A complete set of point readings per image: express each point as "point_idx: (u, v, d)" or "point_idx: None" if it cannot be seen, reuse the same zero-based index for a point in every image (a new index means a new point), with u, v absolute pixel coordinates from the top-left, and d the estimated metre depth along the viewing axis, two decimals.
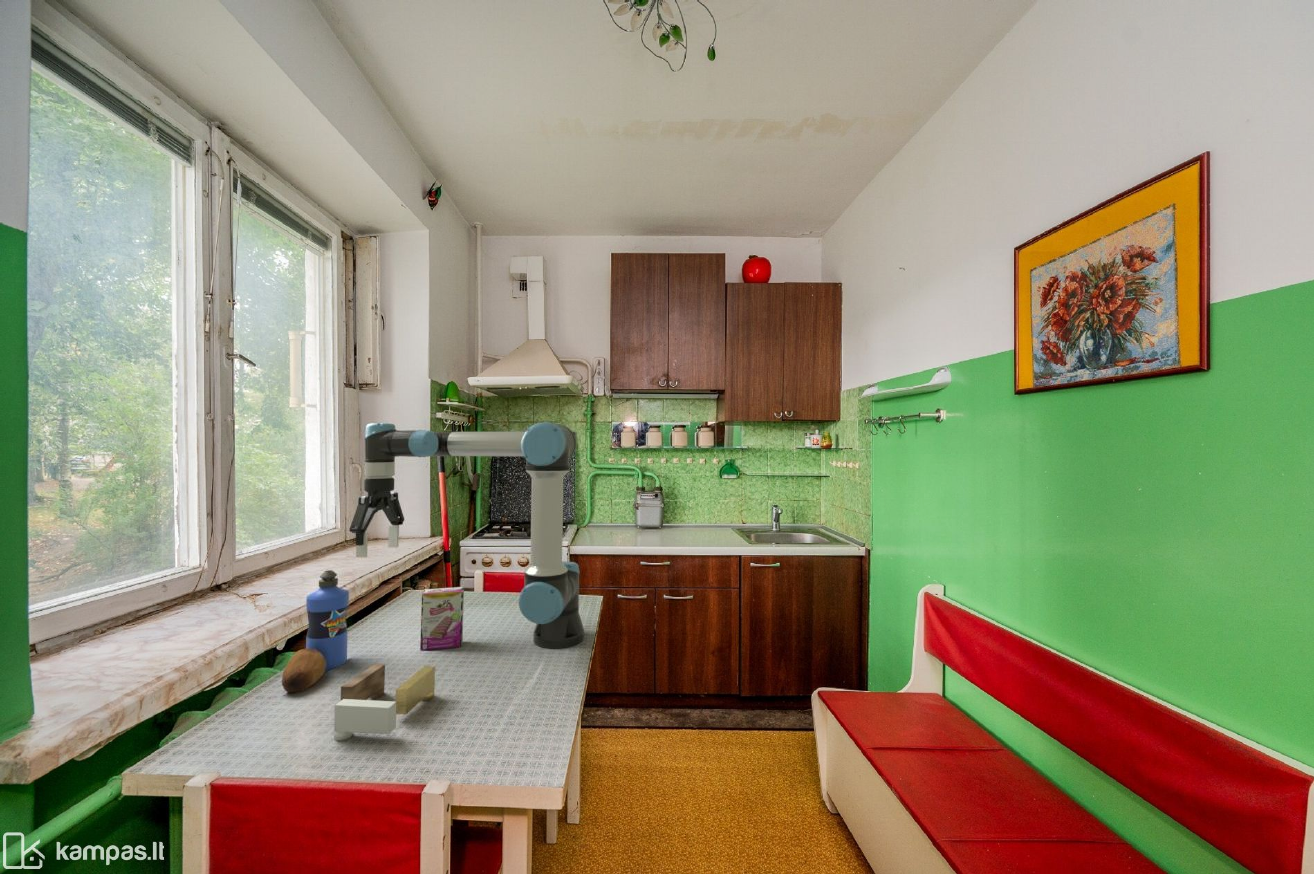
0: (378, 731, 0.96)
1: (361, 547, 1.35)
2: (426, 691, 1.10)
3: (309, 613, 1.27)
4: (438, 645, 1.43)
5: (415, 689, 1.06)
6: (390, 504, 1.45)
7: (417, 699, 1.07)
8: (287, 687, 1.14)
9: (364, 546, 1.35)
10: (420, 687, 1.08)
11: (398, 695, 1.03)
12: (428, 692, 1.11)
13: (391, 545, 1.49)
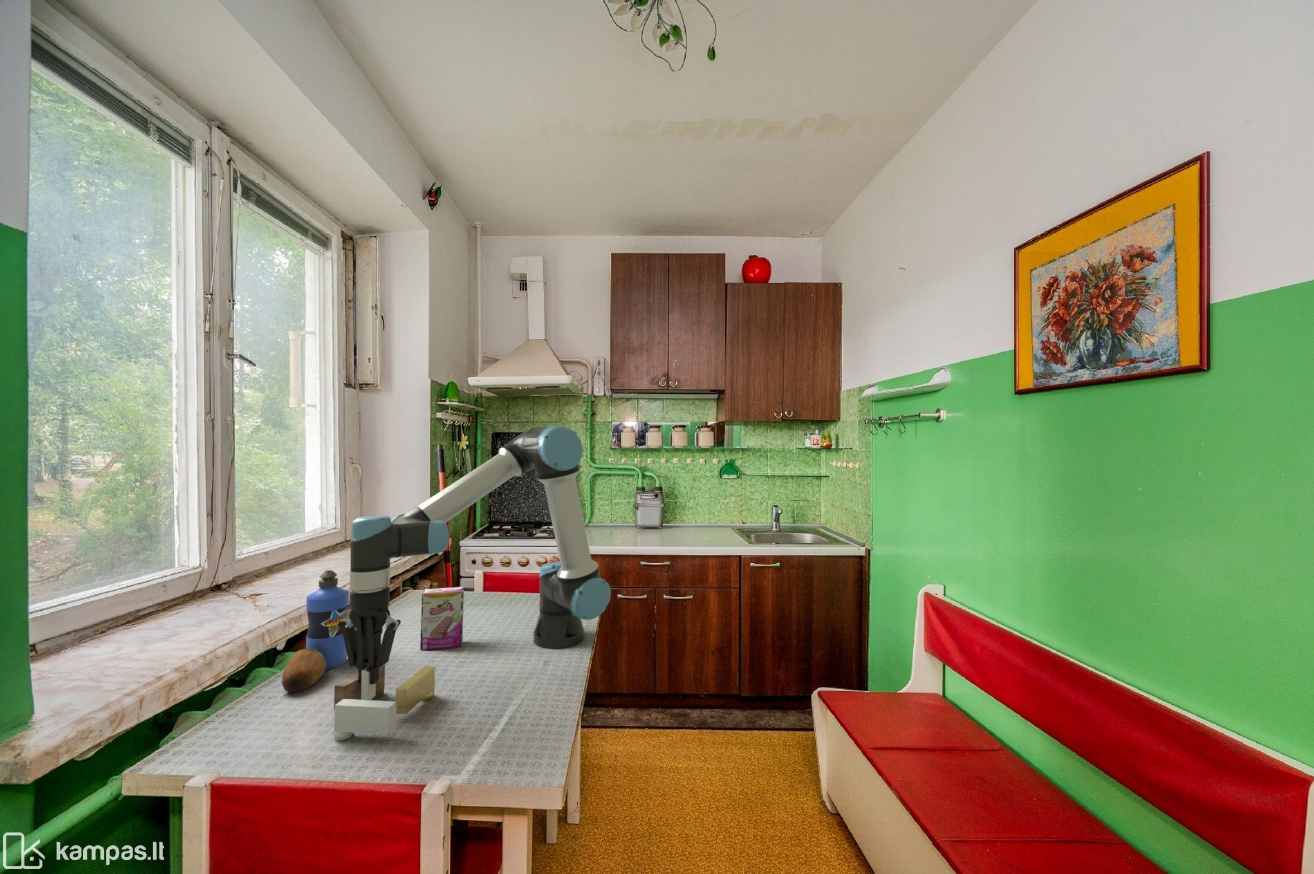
0: (378, 731, 0.96)
1: None
2: (426, 691, 1.10)
3: (309, 613, 1.27)
4: (438, 645, 1.43)
5: (415, 689, 1.06)
6: (369, 630, 1.06)
7: (417, 699, 1.07)
8: (287, 687, 1.14)
9: None
10: (420, 687, 1.08)
11: (398, 695, 1.03)
12: (428, 692, 1.11)
13: None
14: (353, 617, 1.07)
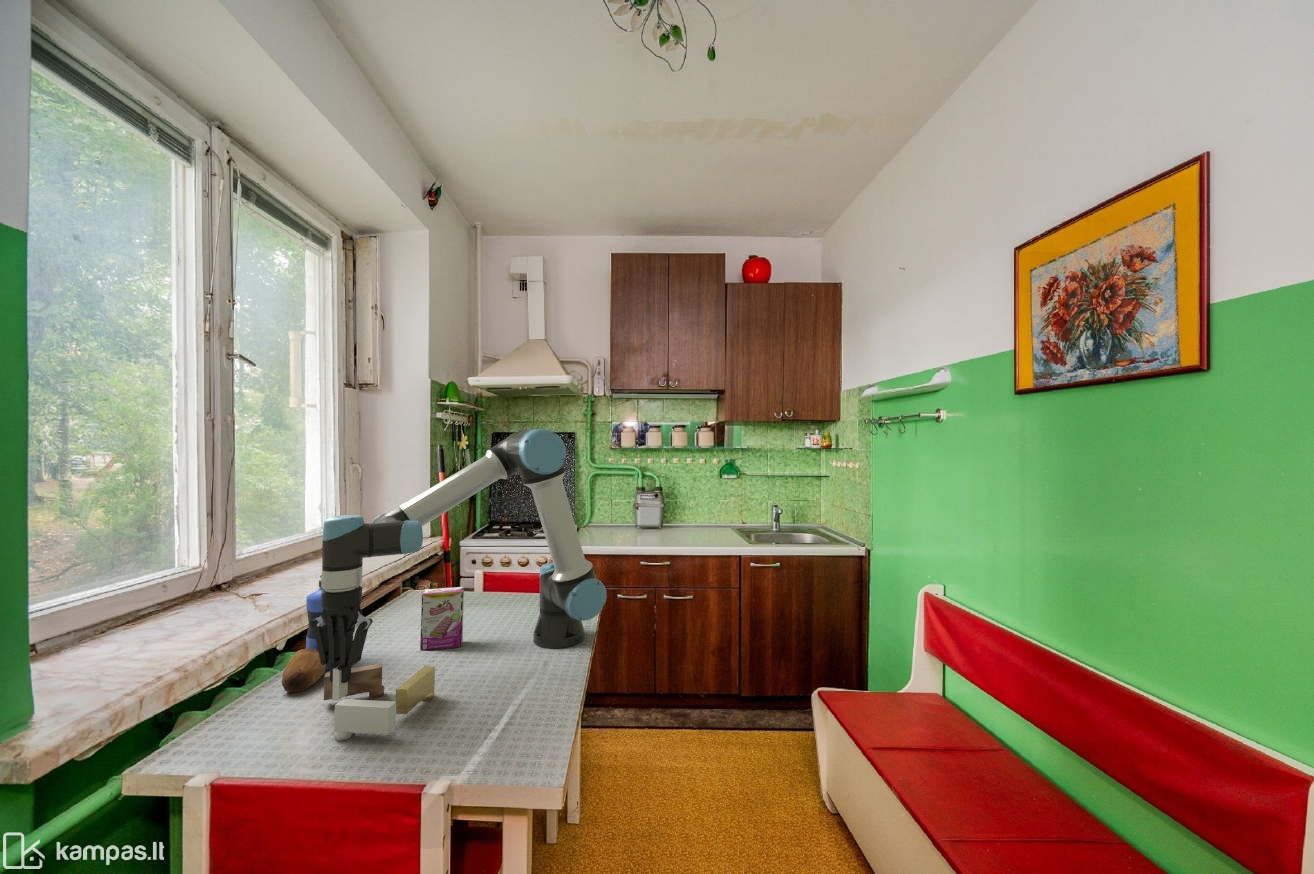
0: (378, 731, 0.96)
1: None
2: (426, 691, 1.10)
3: (309, 613, 1.27)
4: (438, 645, 1.43)
5: (415, 689, 1.06)
6: (341, 629, 1.07)
7: (417, 699, 1.07)
8: (287, 687, 1.14)
9: None
10: (420, 687, 1.08)
11: (398, 695, 1.03)
12: (428, 692, 1.11)
13: None
14: (325, 616, 1.08)
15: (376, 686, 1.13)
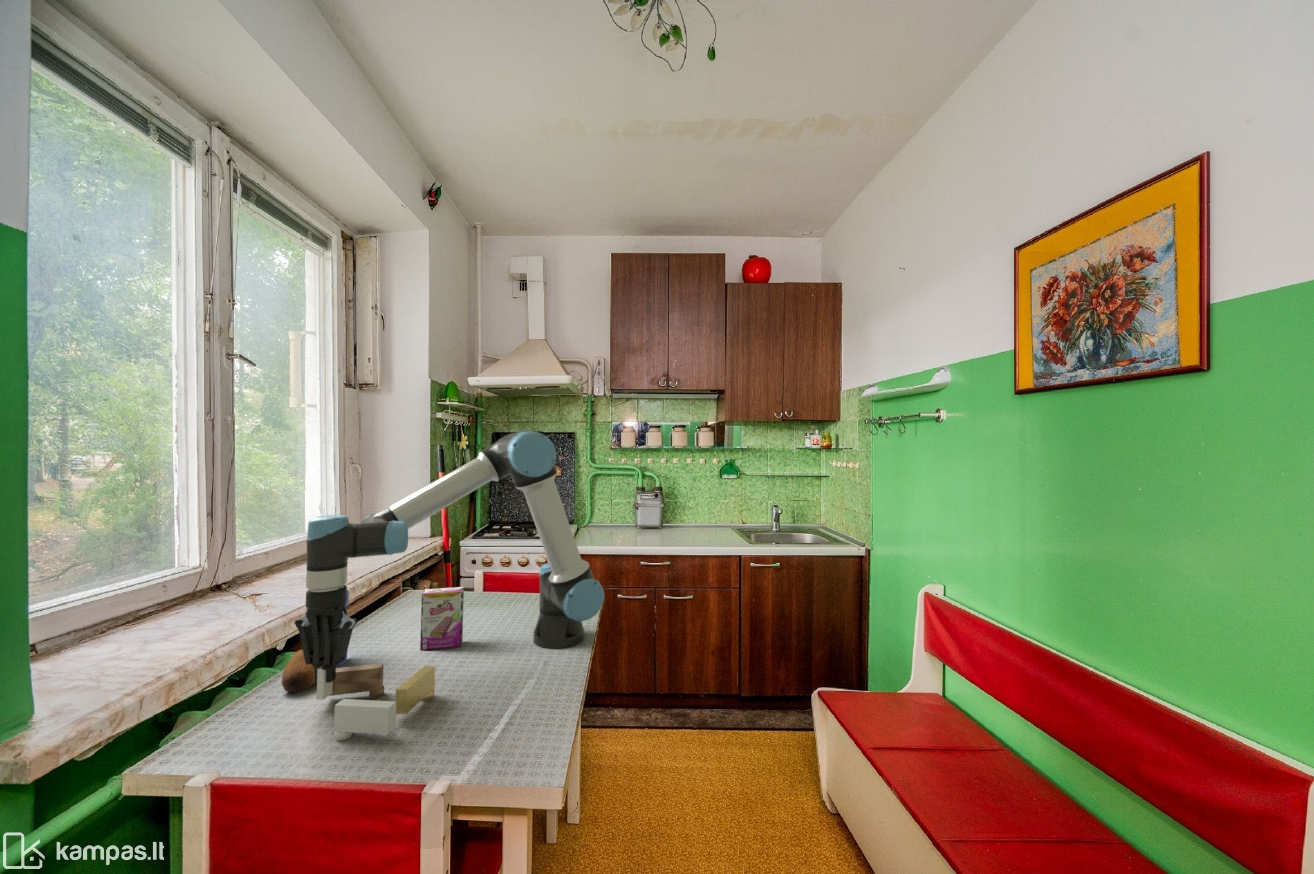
0: (378, 731, 0.96)
1: None
2: (426, 691, 1.10)
3: None
4: (438, 645, 1.43)
5: (415, 689, 1.06)
6: (325, 629, 1.07)
7: (417, 699, 1.07)
8: (287, 687, 1.14)
9: None
10: (420, 687, 1.08)
11: (398, 695, 1.03)
12: (428, 692, 1.11)
13: None
14: (309, 616, 1.08)
15: (375, 686, 1.13)
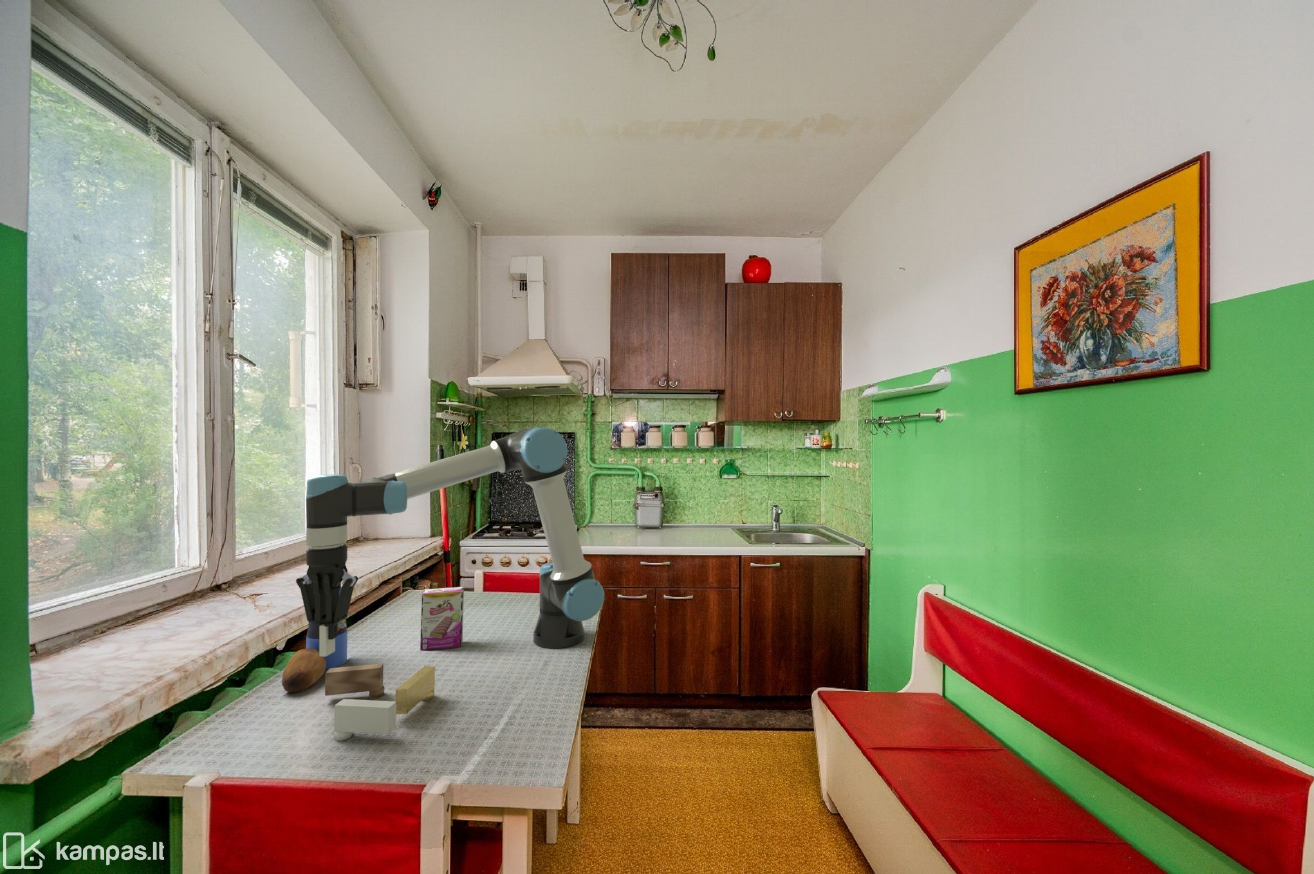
0: (378, 731, 0.96)
1: None
2: (426, 691, 1.10)
3: None
4: (438, 645, 1.43)
5: (415, 689, 1.06)
6: (326, 586, 1.08)
7: (417, 699, 1.07)
8: (287, 687, 1.14)
9: None
10: (420, 687, 1.08)
11: (398, 695, 1.03)
12: (428, 692, 1.11)
13: None
14: (310, 573, 1.09)
15: (375, 686, 1.13)
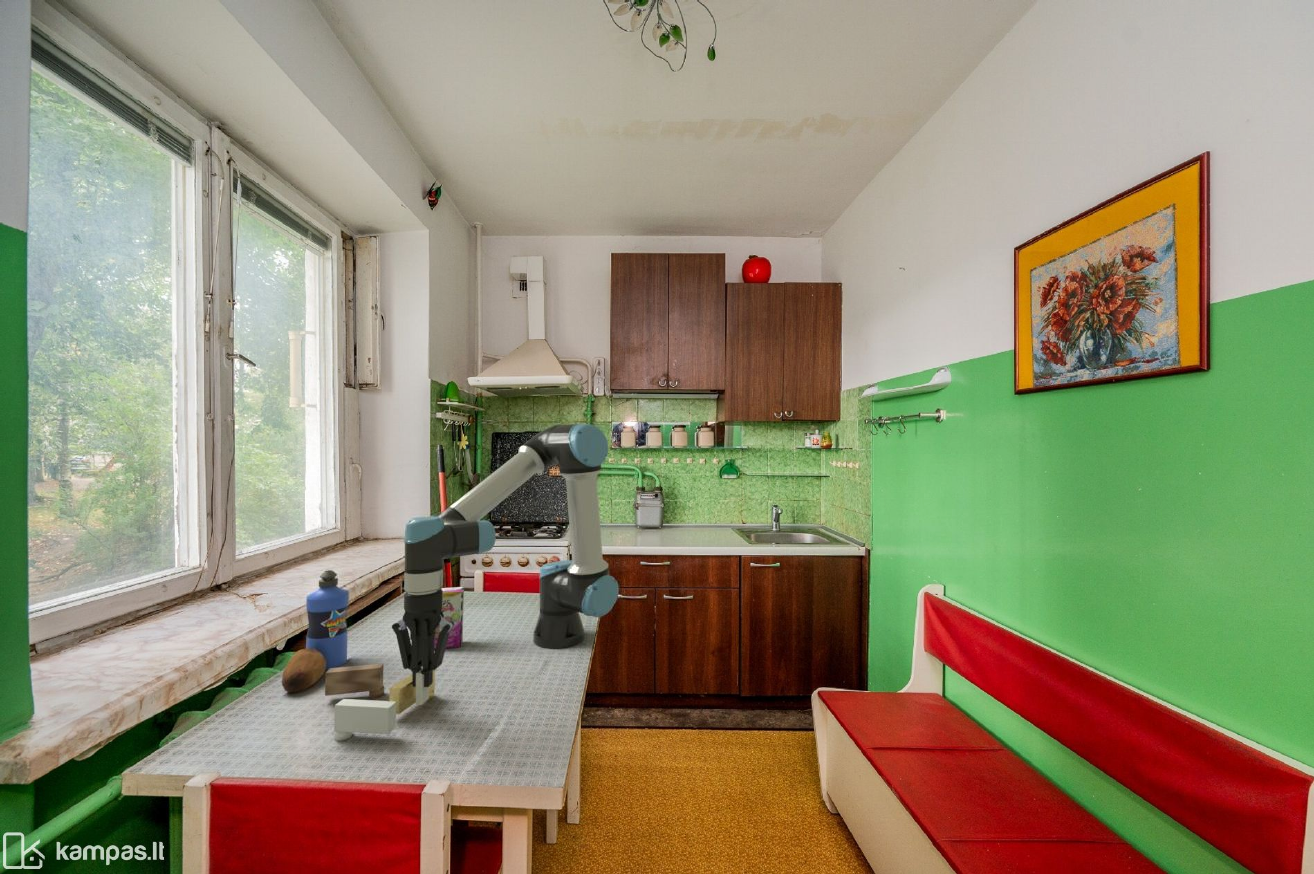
0: (378, 731, 0.96)
1: None
2: None
3: (309, 613, 1.27)
4: None
5: (410, 689, 1.06)
6: (424, 633, 1.05)
7: (413, 699, 1.07)
8: (287, 687, 1.14)
9: None
10: None
11: (392, 694, 1.03)
12: None
13: None
14: (407, 619, 1.06)
15: (375, 686, 1.13)
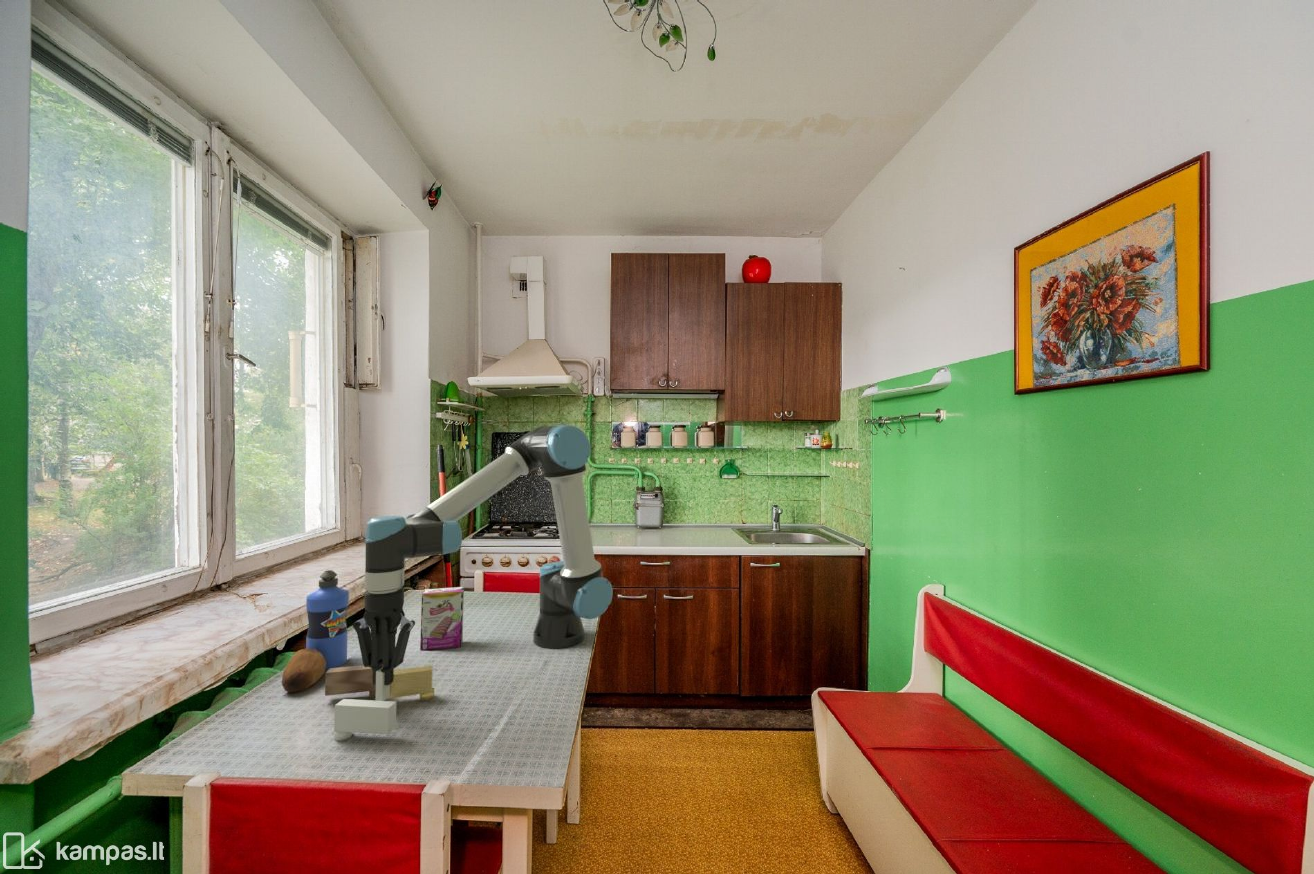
0: (378, 731, 0.96)
1: None
2: (414, 690, 1.11)
3: (309, 613, 1.27)
4: (438, 645, 1.43)
5: None
6: (384, 631, 1.06)
7: (397, 692, 1.10)
8: (287, 687, 1.14)
9: None
10: (401, 682, 1.10)
11: None
12: (418, 692, 1.11)
13: None
14: (368, 618, 1.07)
15: (375, 686, 1.13)
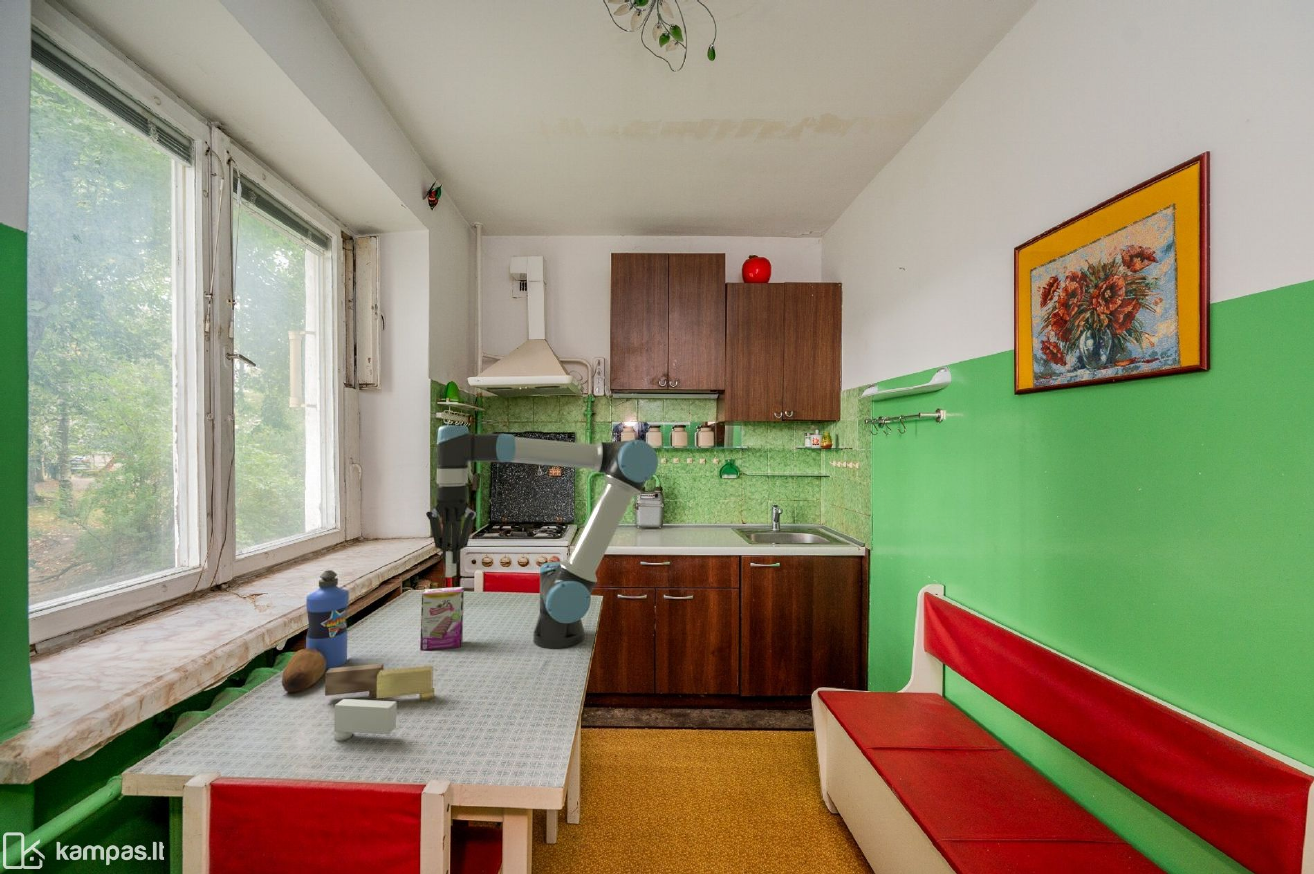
0: (378, 731, 0.96)
1: None
2: (414, 689, 1.11)
3: (309, 613, 1.27)
4: (438, 645, 1.43)
5: (392, 680, 1.10)
6: (453, 518, 1.28)
7: (397, 691, 1.10)
8: (287, 687, 1.14)
9: None
10: (401, 681, 1.11)
11: None
12: (418, 692, 1.11)
13: None
14: (439, 508, 1.29)
15: (375, 686, 1.13)
